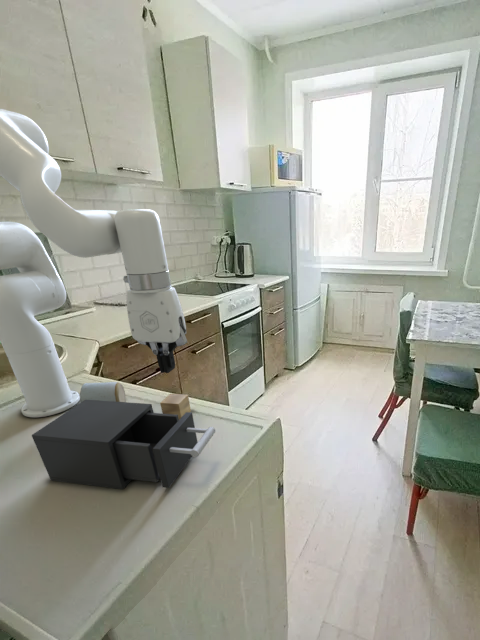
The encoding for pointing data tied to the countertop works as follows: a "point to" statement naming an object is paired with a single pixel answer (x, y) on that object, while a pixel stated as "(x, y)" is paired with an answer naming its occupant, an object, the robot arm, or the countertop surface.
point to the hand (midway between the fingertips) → (168, 370)
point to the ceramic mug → (103, 392)
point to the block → (176, 404)
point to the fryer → (88, 442)
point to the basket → (159, 447)
